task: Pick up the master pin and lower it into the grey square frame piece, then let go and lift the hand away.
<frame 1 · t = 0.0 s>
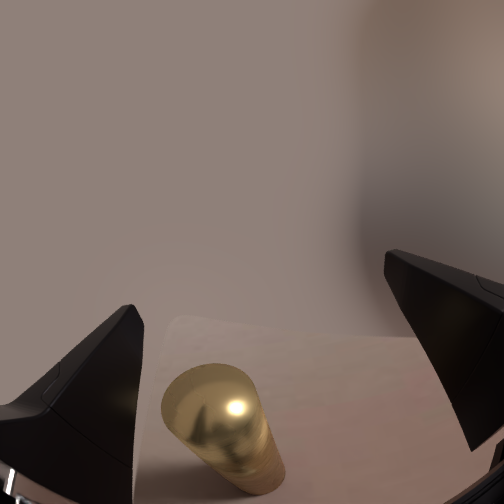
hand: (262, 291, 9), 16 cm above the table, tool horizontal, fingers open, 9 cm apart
master pin: (258, 473, 15), on the table
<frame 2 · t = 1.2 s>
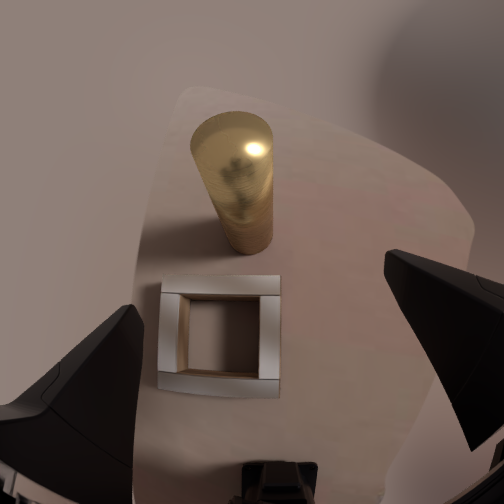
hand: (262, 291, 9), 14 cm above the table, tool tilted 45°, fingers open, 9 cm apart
master pin: (250, 232, 24), on the table
grey square frame piece: (223, 336, 22), on the table
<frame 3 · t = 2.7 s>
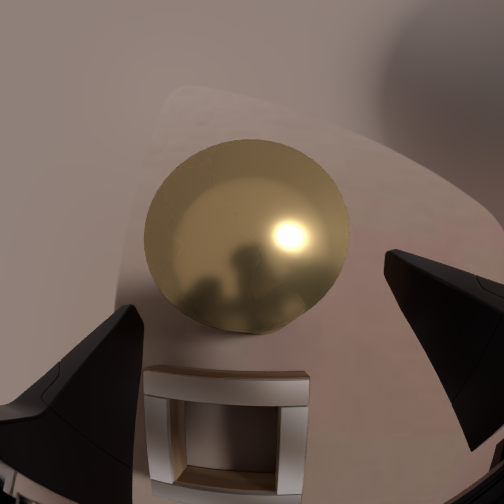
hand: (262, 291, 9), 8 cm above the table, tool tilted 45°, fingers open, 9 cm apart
master pin: (263, 302, 17), on the table
grey square frame piece: (229, 435, 14), on the table
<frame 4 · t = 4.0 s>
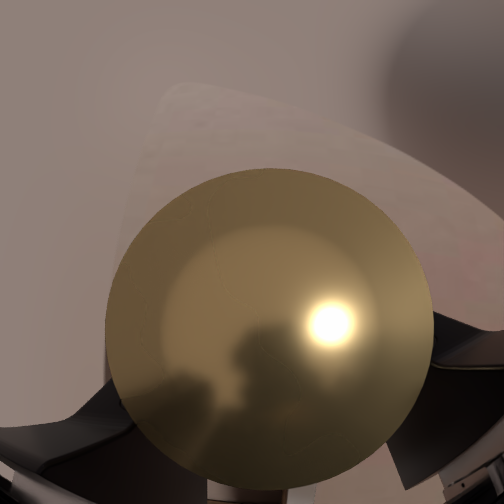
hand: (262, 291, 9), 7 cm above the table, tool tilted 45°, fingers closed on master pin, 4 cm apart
master pin: (271, 333, 15), on the table, touching gripper
grey square frame piece: (233, 470, 12), on the table
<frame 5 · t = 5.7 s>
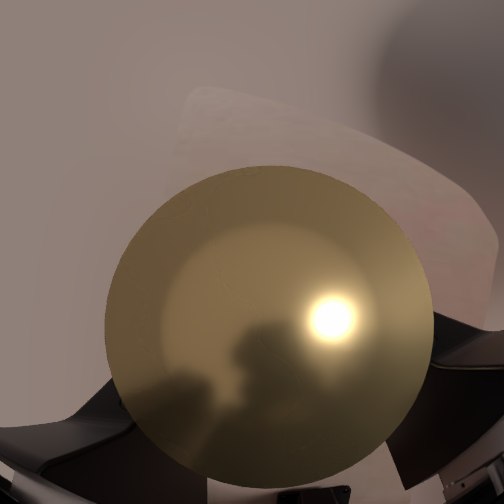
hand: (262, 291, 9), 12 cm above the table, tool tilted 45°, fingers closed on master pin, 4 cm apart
master pin: (270, 332, 15), point 6 cm above the table, touching gripper
when the fingers open (7 cm above the table, at t = 7.5 s): master pin stays where it is, resting in grey square frame piece.
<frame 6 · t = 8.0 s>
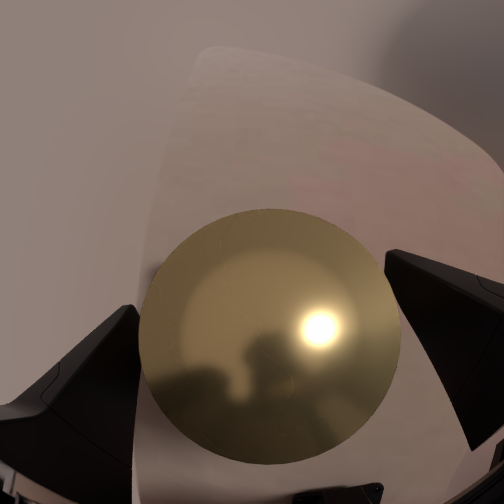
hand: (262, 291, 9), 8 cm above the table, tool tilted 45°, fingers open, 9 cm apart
master pin: (271, 333, 16), resting in grey square frame piece
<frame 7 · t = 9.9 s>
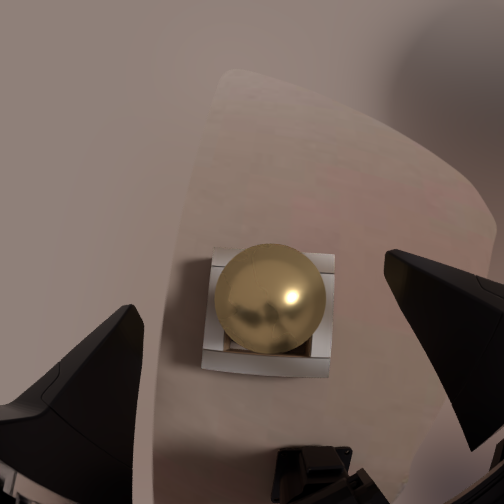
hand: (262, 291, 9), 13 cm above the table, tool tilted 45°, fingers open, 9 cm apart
master pin: (270, 315, 21), resting in grey square frame piece
grey square frame piece: (269, 314, 21), on the table
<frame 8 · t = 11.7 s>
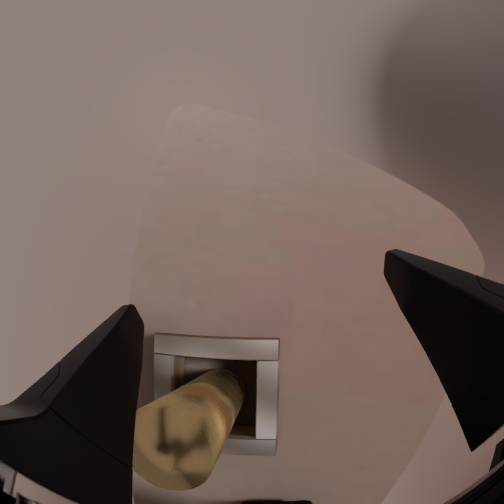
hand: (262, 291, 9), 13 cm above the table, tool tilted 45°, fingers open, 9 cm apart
master pin: (220, 391, 20), resting in grey square frame piece
grey square frame piece: (220, 391, 20), on the table
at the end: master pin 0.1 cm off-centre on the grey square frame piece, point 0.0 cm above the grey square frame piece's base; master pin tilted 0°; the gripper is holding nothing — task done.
